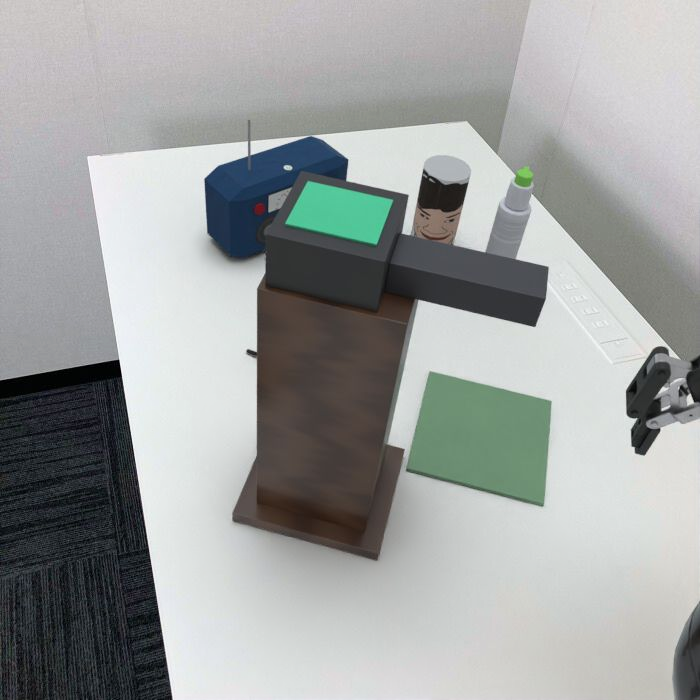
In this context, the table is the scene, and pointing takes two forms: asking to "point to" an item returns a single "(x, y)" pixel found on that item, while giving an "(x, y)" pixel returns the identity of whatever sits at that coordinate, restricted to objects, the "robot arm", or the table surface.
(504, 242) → the bottle
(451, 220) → the printed can
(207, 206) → the radio
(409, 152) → the table surface
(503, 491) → the mat
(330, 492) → the stand
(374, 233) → the green-topped block with handle
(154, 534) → the table surface
